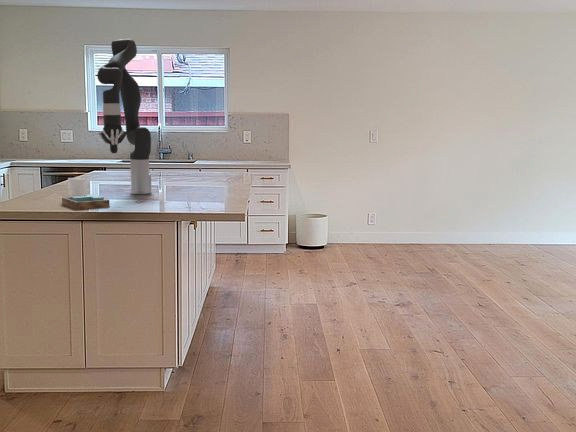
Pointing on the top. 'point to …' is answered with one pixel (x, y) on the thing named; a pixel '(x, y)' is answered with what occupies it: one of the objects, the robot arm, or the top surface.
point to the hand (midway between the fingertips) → (113, 153)
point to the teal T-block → (87, 198)
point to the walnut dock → (84, 203)
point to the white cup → (77, 186)
